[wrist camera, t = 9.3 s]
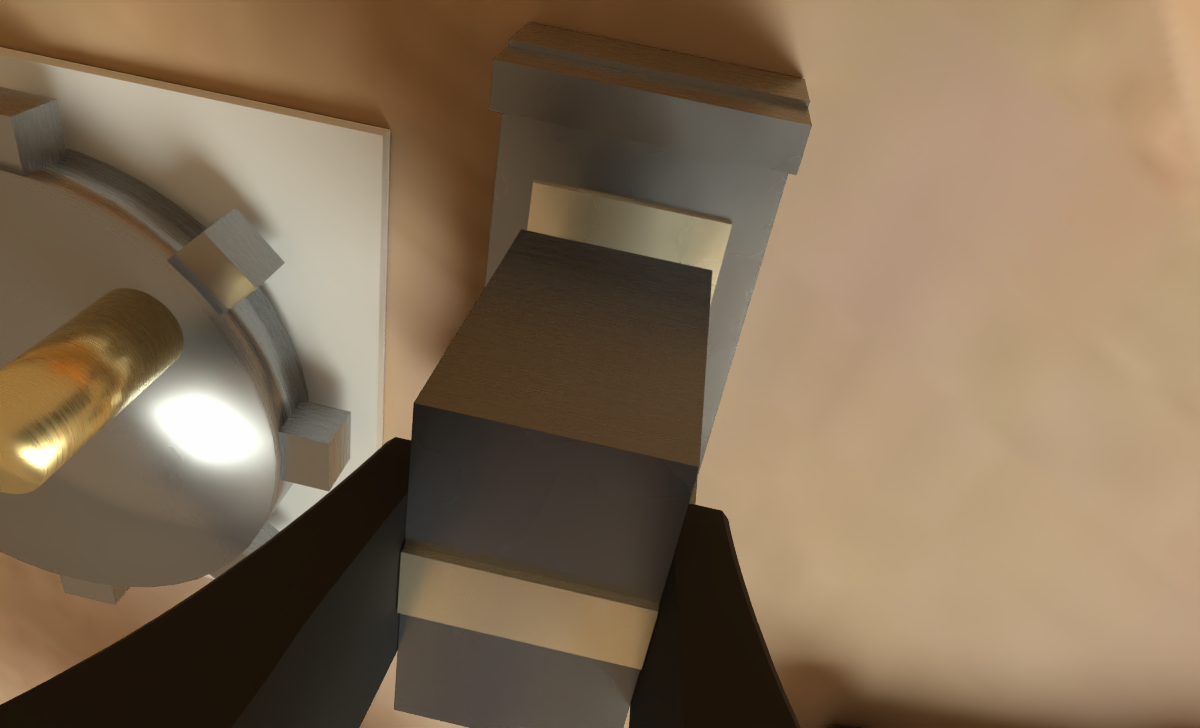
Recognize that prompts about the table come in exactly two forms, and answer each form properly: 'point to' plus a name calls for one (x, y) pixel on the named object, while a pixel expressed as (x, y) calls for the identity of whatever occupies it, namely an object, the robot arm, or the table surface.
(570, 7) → the table surface
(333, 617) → the robot arm
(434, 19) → the table surface
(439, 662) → the banded grey block
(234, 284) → the sprocket
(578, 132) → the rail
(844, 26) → the table surface
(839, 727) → the dark brown lumpy bar
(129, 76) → the board
